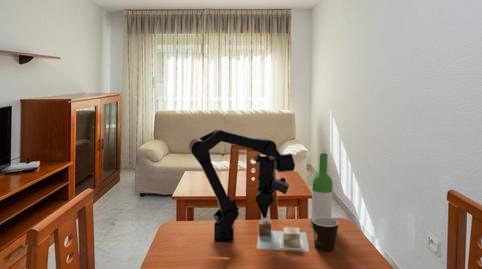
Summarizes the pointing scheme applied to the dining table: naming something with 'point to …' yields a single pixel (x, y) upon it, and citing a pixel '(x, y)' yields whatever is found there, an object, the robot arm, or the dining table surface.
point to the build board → (280, 242)
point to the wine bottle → (322, 191)
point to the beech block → (291, 237)
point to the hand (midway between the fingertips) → (265, 213)
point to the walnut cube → (264, 227)
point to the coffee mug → (325, 233)
